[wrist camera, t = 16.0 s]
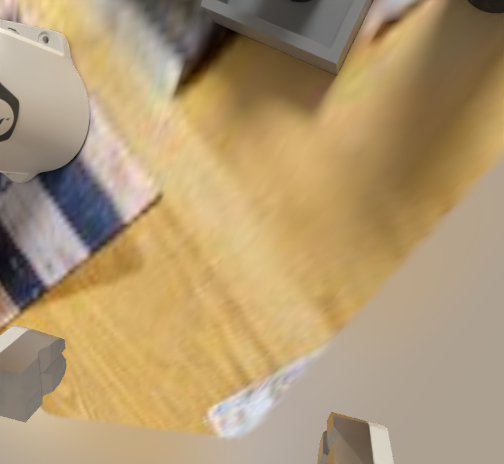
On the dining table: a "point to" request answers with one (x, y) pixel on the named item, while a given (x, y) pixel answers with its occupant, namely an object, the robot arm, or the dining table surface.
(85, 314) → the dining table surface
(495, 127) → the dining table surface
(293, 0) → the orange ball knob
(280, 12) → the open square box
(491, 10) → the travel mug
